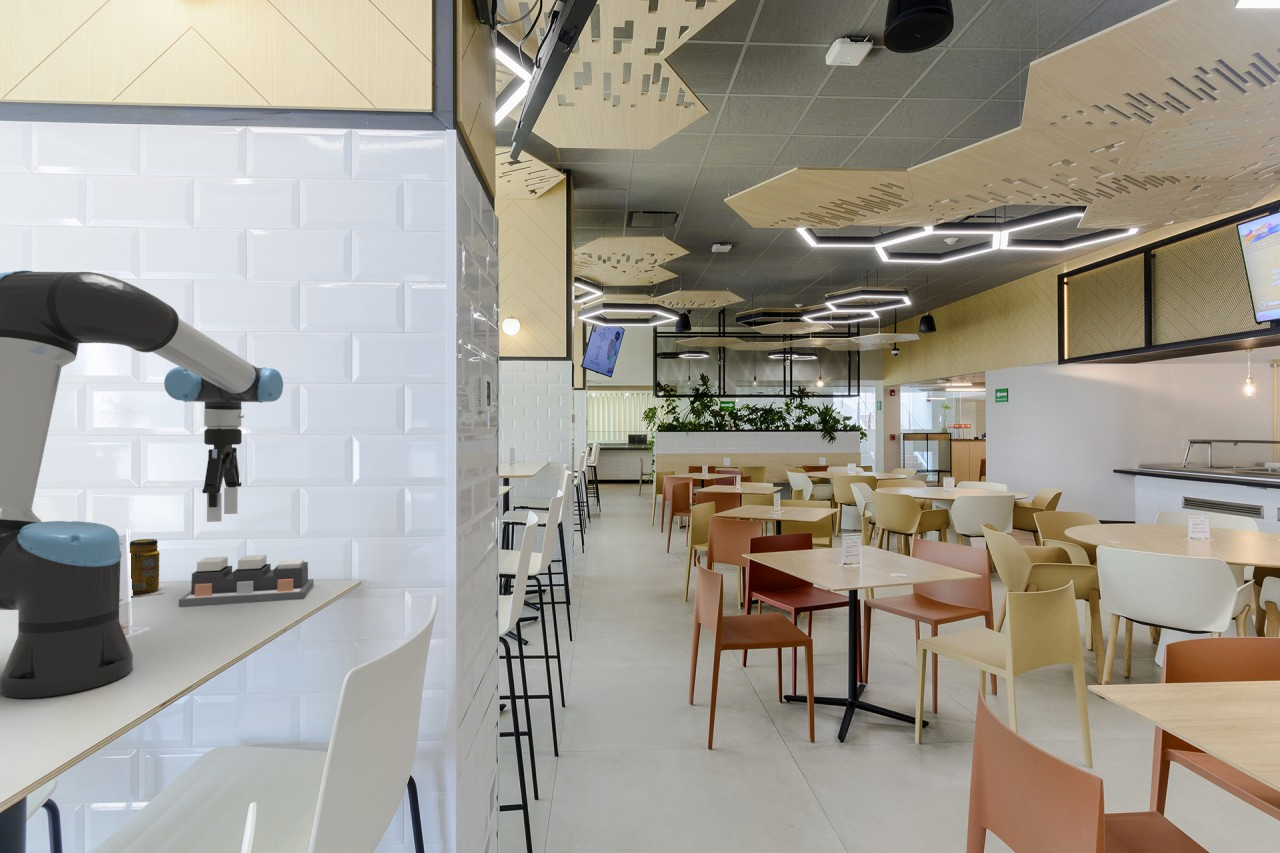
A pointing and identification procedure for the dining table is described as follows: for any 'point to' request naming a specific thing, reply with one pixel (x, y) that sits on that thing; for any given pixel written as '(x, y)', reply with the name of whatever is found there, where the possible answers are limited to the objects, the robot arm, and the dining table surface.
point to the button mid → (252, 562)
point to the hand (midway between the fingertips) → (222, 517)
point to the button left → (212, 563)
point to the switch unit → (247, 585)
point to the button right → (291, 564)
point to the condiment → (145, 567)
